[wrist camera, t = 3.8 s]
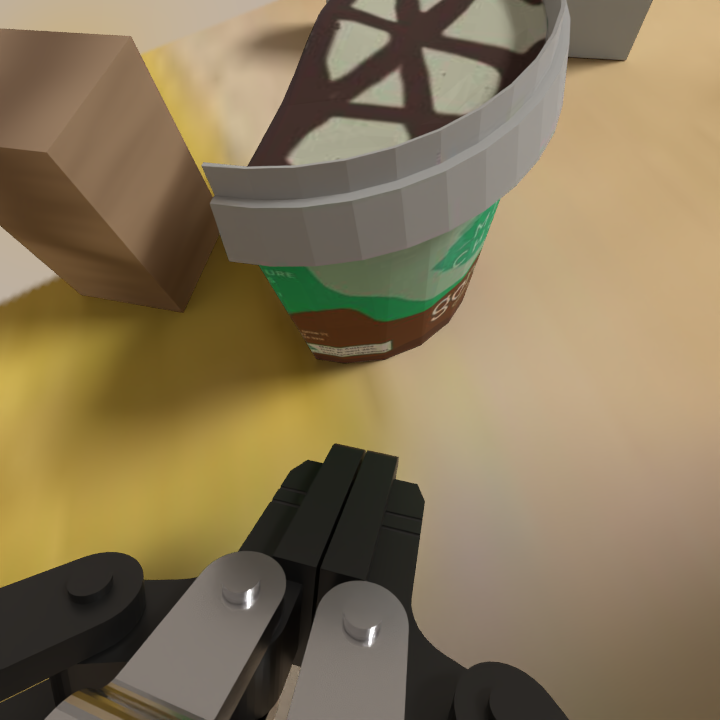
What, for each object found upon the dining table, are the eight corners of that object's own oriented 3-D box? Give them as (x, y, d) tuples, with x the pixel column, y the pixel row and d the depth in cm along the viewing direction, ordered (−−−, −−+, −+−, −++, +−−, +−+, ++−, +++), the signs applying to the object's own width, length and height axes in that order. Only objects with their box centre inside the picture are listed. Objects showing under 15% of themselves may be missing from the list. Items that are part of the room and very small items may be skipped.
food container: (466, 436, 15) (560, 252, 6) (303, 393, 17) (187, 187, 8) (519, 181, 20) (617, -131, 11) (389, 162, 21) (381, -134, 12)
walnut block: (225, 221, 21) (131, 36, 13) (183, 313, 19) (46, 152, 11) (130, 209, 21) (-6, 28, 14) (81, 294, 20) (-107, 134, 12)
